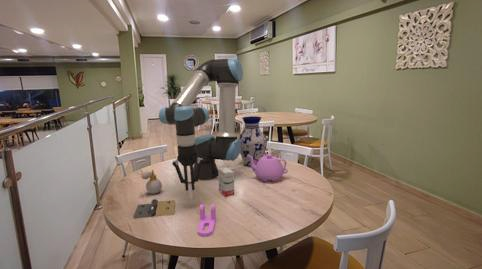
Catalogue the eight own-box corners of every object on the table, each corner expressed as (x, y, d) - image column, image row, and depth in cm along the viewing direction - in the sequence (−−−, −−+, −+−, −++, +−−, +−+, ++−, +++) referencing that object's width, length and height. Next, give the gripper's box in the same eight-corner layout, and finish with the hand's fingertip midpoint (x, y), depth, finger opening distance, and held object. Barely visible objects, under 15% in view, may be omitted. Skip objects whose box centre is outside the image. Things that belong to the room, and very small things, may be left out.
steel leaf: (158, 205, 122) (157, 199, 122) (155, 216, 113) (154, 209, 112) (138, 207, 121) (137, 200, 120) (133, 218, 111) (132, 211, 111)
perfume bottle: (164, 189, 140) (162, 167, 137) (157, 197, 130) (154, 173, 128) (150, 189, 140) (148, 166, 138) (141, 197, 131) (139, 173, 129)
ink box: (234, 195, 131) (234, 171, 129) (225, 197, 129) (224, 172, 127) (227, 188, 139) (226, 166, 137) (218, 190, 137) (217, 167, 134)
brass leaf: (175, 205, 123) (174, 199, 123) (173, 215, 114) (173, 209, 113) (159, 206, 122) (158, 200, 122) (156, 217, 112) (155, 211, 112)
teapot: (245, 183, 145) (245, 158, 142) (248, 173, 160) (248, 150, 158) (288, 184, 142) (288, 158, 140) (287, 174, 158) (287, 150, 155)
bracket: (201, 218, 110) (200, 202, 109) (215, 218, 110) (215, 202, 108) (196, 237, 97) (195, 219, 96) (212, 236, 97) (211, 218, 96)
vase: (241, 170, 167) (239, 120, 161) (235, 161, 185) (233, 116, 179) (271, 167, 171) (271, 118, 165) (262, 158, 189) (262, 115, 183)
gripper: (202, 140, 119) (205, 191, 124) (171, 143, 117) (175, 194, 122) (202, 145, 112) (206, 199, 117) (169, 147, 110) (174, 202, 115)
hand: (190, 197), depth 119 cm, fingers closed
